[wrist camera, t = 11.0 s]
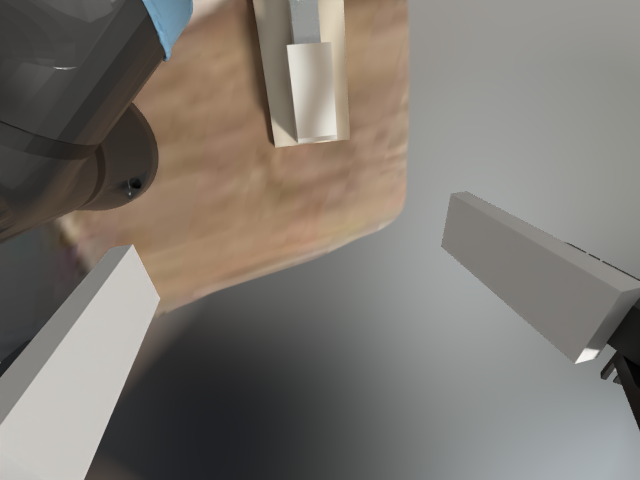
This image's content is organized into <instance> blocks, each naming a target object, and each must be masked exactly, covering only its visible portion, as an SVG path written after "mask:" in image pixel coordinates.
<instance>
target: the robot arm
mask: <svg viewBox="0 0 640 480" xmlns="http://www.w3.org/2000/svg"><path fill="white" fill-rule="evenodd" d="M192 11H193V2H192V0H0V244H2V243H4V242H6V241H8V240H11V239H13V238H15V237H17V236H19V235H21V234H24V233H26V232H28V231H30V230H32V229H35V228H37V227H39V226H41V225H43V224H46V223H48V222H50V221H52V220H54V219H56V218H59V217H61V216H63V215H65V214H67V213H70V212H72V211H74V210H91V211H98V210H108V209H113V208H117V207H120V206H123V205H125V204H127V203H129V202H131V201H133V200H134V199H136V198H138V197H139V196H141V195H142V194H143V193H144V192H145V191H146V190H147V189H148V188H149V186H150V185H151V183H152V182H153V180H154V178H155V175H156V172H157V168H158V148H157V143H156V140H155V137H154V134H153V132H152V129H151V127H150V125H149V124H148V122H147V120H146V119H145V117H144V116H143V114H142V113H141V112H140V111H139V109H138V108H137V107H136V106H135V105H134V104H133V103H132V101H133V100H134V98H135V97H136V95H137V94H138V93H139V91H140V90H141V89H142V87H143V86H144V85H145V83H146V82H147V81H148V79H149V78H150V77H151V75H152V74H153V72H154V71H155V70H156V68H157V67H158V66H159V64H160V63H161V62H162V60H164V61H167V60H168V59H169V58H170V56H171V48H172V47H173V45H174V44H175V42H176V41H177V39H178V38H179V36H180V34H181V33H182V31H183V30H184V28H185V27H186V25H187V24H188V22H189V21H190V18H191V15H192ZM441 247H443V248H444V249H445V250H446V251H447V252H448V253H450V254H451V255H452V256H453V257H454V258H455V259H456V260H457V261H459V262H460V263H461V264H462V265H463V266H464V267H465V268H467V269H468V270H469V271H470V272H471V273H472V274H473V275H475V276H476V277H477V278H478V279H479V280H480V281H481V282H482V283H483V284H485V285H486V286H487V287H488V288H489V289H490V290H491V291H493V292H494V293H495V294H496V295H497V296H498V297H499V298H501V299H502V300H503V301H504V302H505V303H506V304H507V305H509V306H510V307H511V308H512V309H513V310H514V311H515V312H516V313H518V314H519V315H520V316H521V317H522V318H523V319H524V320H526V321H527V322H528V323H529V324H530V325H531V326H532V327H533V328H535V329H536V330H537V331H538V332H539V333H540V334H541V335H543V336H544V337H545V338H546V339H547V340H548V341H549V342H551V343H552V344H553V345H554V346H555V347H556V348H557V349H558V350H560V351H561V352H562V353H563V354H564V355H565V356H566V357H567V358H569V359H570V360H571V361H572V362H573V363H574V364H576V363H579V362H583V361H587V360H590V359H594V358H597V357H598V355H599V354H600V352H601V351H602V350H603V348H604V347H605V345H606V344H609V345H610V346H611V347H613V348H614V349H615V350H617V351H616V353H615V354H614V355H613V357H612V358H611V359H610V361H609V362H608V363H607V365H606V366H605V367H604V368H603V370H602V371H601V379H605V380H606V379H607V378H608V377H609V375H610V374H611V373H612V371H617V373H618V375H617V376H616V377H615V379H614V380H613V382H614V383H617V384H621V385H622V386H623V389H624V391H625V394H626V397H627V399H628V402H629V404H630V407H631V409H632V412H633V415H634V417H635V420H636V422H637V425H638V427H639V430H640V280H639V279H637V278H635V277H633V276H631V275H629V274H628V273H626V272H624V271H622V270H620V269H618V268H616V267H614V266H612V265H610V264H608V263H606V262H604V261H600V259H598V258H596V257H595V256H593V255H591V254H586V252H585V251H583V250H581V249H579V248H577V247H575V246H573V245H571V244H569V243H566V242H563V241H561V240H559V239H557V238H555V237H553V236H552V235H550V234H548V233H546V232H544V231H542V230H540V229H538V228H536V227H534V226H532V225H530V224H528V223H527V222H525V221H523V220H521V219H519V218H517V217H515V216H513V215H511V214H509V213H507V212H505V211H503V210H501V209H500V208H498V207H496V206H494V205H492V204H490V203H488V202H486V201H484V200H482V199H480V198H478V197H476V196H475V195H473V194H471V193H469V192H467V191H466V192H459V193H453V194H451V196H450V202H449V207H448V213H447V218H446V223H445V229H444V234H443V239H442V245H441ZM159 300H160V298H159V296H158V294H157V292H156V290H155V288H154V286H153V284H152V282H151V280H150V278H149V276H148V274H147V272H146V270H145V268H144V266H143V264H142V262H141V260H140V258H139V256H138V254H137V252H136V250H135V248H134V246H133V244H131V245H125V246H119V247H112V248H110V249H109V250H108V251H107V252H106V254H105V255H104V256H103V257H102V258H101V260H100V261H99V262H98V263H97V264H96V265H95V267H94V268H93V269H92V270H91V271H90V272H89V274H88V275H87V276H86V277H85V278H84V280H83V281H82V282H81V283H80V284H79V285H78V287H77V288H76V289H75V290H74V291H73V293H72V294H71V295H70V296H69V297H68V298H67V300H66V301H65V302H64V303H63V304H62V306H61V307H60V308H59V309H58V310H57V311H56V313H55V314H54V315H53V316H52V317H51V319H50V320H49V321H48V322H47V323H46V324H45V326H44V327H43V328H42V329H41V330H40V331H39V333H38V334H37V335H36V336H35V337H34V339H33V340H29V341H27V342H25V343H24V344H23V345H21V346H20V347H19V348H18V349H16V350H15V351H14V352H12V353H11V354H10V355H9V356H7V357H6V358H5V359H4V360H3V361H2V362H1V363H0V480H84V478H85V475H86V473H87V471H88V469H89V466H90V464H91V461H92V459H93V456H94V454H95V452H96V449H97V447H98V445H99V442H100V440H101V438H102V435H103V433H104V431H105V428H106V426H107V424H108V421H109V419H110V416H111V414H112V412H113V409H114V407H115V405H116V402H117V400H118V397H119V395H120V393H121V390H122V388H123V386H124V383H125V381H126V378H127V376H128V374H129V371H130V369H131V366H132V364H133V362H134V360H135V357H136V355H137V353H138V350H139V348H140V345H141V343H142V341H143V338H144V336H145V333H146V331H147V329H148V326H149V324H150V322H151V319H152V317H153V315H154V312H155V310H156V308H157V305H158V303H159Z"/></svg>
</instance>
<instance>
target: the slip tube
mask: <svg viewBox="0 0 640 480" xmlns="http://www.w3.org/2000/svg"><path fill="white" fill-rule="evenodd" d="M287 3H288V12H289V21H290V30H291V39H292V45H294V44H308V43H321V36H320V23H319V10H318V0H287Z"/></svg>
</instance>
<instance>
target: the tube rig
mask: <svg viewBox="0 0 640 480" xmlns="http://www.w3.org/2000/svg"><path fill="white" fill-rule="evenodd" d="M253 4H254V10H255V17H256V23H257V30H258V37H259V43H260V50H261V56H262V63H263V69H264V76H265V83H266V89H267V96H268V102H269V109H270V116H271V122H272V129H273V135H274V142H275V147H283V146H292V145H301V144H310V143H319V142H328V141H337V140H346V139H350V133H349V111H348V90H347V68H346V46H345V24H344V3H343V0H318V10H319V23H320V36H321V43H308V44H294V45H292V39H291V30H290V21H289V12H288V3H287V0H253Z"/></svg>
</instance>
